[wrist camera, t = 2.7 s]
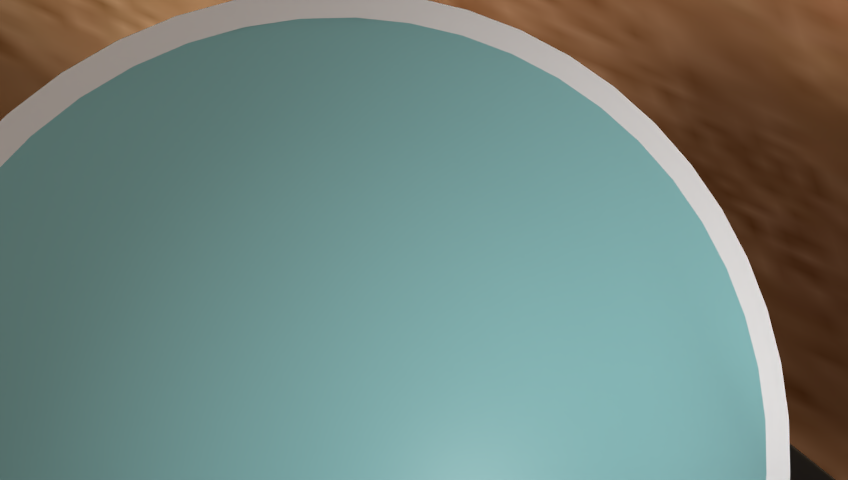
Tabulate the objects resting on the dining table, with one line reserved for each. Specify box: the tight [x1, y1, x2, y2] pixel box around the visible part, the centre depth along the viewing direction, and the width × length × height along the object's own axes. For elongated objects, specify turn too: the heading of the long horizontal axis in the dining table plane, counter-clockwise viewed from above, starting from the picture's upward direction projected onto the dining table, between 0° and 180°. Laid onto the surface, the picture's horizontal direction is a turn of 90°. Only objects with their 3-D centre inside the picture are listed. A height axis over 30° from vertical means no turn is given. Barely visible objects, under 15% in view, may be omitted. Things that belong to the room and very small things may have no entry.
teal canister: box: [0, 0, 790, 480], centre depth 11 cm, size 6×6×12 cm
